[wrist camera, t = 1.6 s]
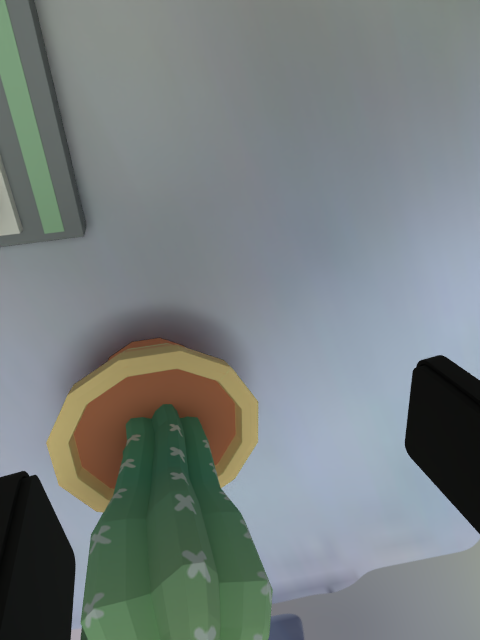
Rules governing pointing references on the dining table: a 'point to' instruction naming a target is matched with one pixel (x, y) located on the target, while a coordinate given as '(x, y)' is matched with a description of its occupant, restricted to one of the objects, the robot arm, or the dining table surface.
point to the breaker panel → (32, 138)
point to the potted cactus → (163, 496)
